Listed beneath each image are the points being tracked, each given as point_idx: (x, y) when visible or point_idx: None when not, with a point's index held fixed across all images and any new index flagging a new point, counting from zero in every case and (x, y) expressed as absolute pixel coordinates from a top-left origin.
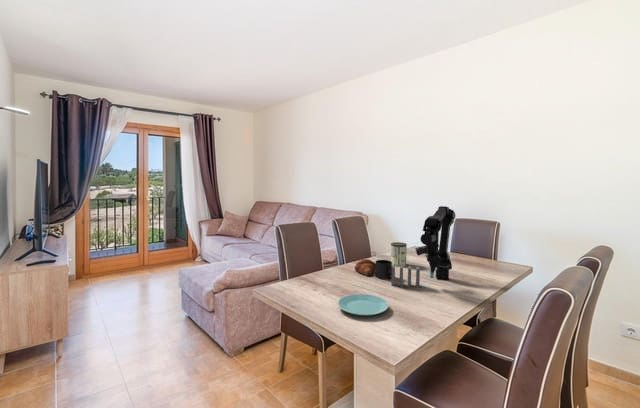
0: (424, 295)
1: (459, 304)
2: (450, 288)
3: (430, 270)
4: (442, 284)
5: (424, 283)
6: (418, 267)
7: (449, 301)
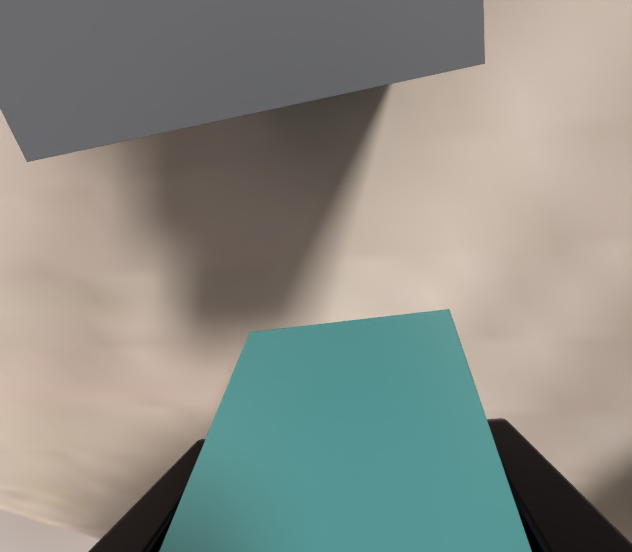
0: (11, 202)
1: (33, 468)
2: None
3: (245, 451)
4: (537, 365)
5: (519, 141)
6: (325, 43)
7: (38, 415)
